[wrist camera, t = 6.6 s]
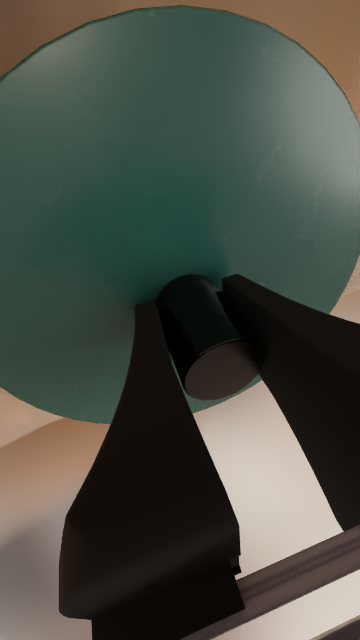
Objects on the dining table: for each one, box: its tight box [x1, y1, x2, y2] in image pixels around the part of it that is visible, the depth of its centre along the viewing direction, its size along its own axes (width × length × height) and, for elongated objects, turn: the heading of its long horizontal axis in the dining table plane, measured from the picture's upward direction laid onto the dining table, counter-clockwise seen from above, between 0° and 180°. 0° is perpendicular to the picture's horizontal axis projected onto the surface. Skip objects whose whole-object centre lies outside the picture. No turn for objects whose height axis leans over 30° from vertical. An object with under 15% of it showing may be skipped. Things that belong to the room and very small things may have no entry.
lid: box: [0, 5, 360, 424], centre depth 10 cm, size 16×16×5 cm
